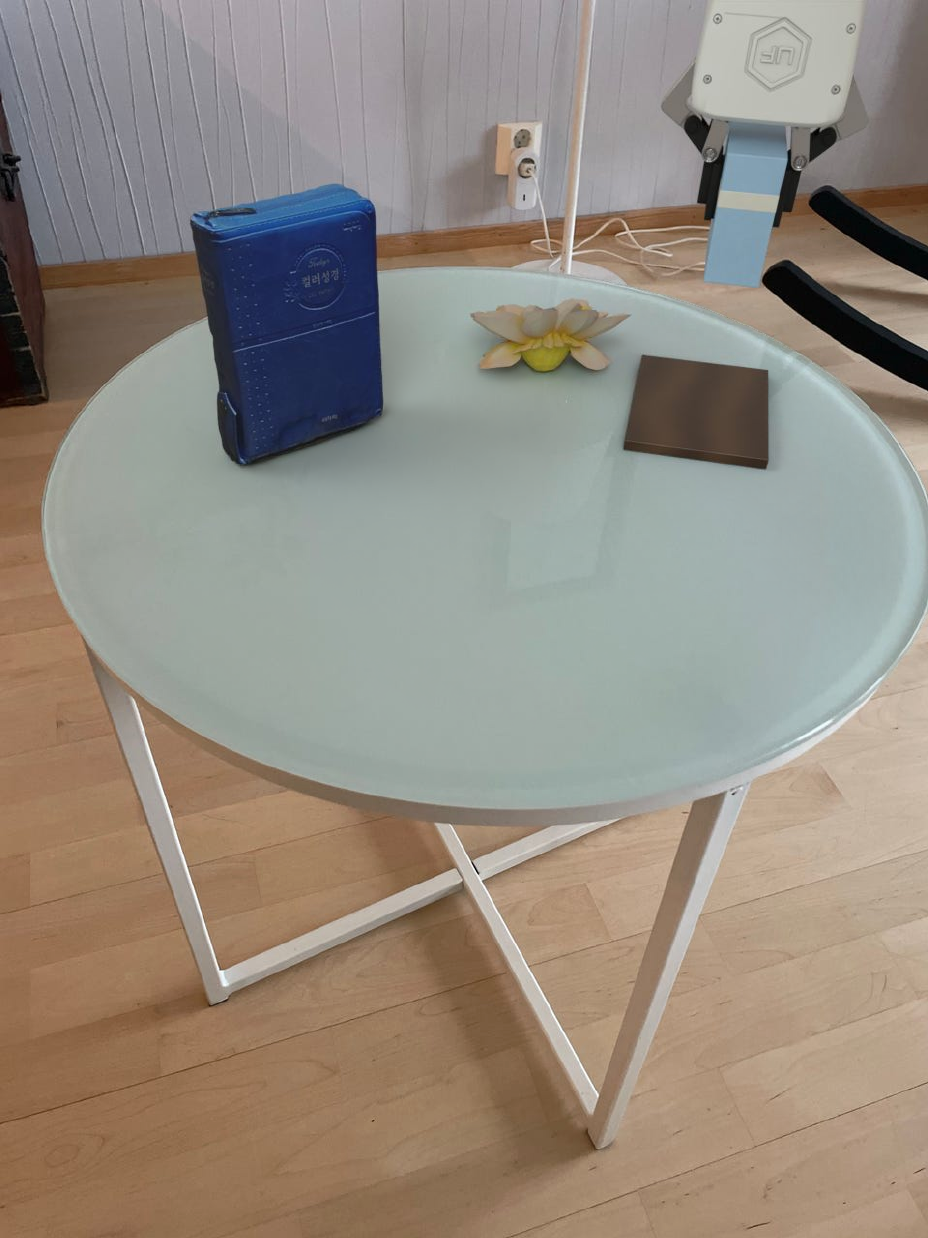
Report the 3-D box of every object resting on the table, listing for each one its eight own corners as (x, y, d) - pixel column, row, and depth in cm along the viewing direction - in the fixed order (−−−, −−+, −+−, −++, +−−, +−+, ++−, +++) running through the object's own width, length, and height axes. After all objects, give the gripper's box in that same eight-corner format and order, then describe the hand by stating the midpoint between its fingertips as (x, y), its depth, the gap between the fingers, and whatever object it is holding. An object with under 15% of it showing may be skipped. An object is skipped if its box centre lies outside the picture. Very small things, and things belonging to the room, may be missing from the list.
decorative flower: (618, 312, 101) (626, 224, 93) (632, 390, 95) (642, 303, 86) (470, 321, 101) (465, 234, 93) (474, 398, 95) (469, 313, 87)
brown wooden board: (766, 379, 95) (768, 369, 95) (766, 469, 84) (768, 459, 83) (640, 363, 97) (641, 353, 96) (623, 449, 85) (624, 439, 85)
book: (241, 478, 81) (203, 230, 68) (212, 448, 84) (171, 206, 71) (390, 426, 87) (382, 190, 74) (358, 400, 91) (345, 170, 77)
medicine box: (758, 246, 79) (786, 123, 73) (758, 288, 73) (788, 158, 67) (707, 241, 79) (729, 119, 73) (702, 282, 73) (727, 153, 67)
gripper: (662, -83, 60) (622, 224, 72) (954, -66, 57) (862, 248, 70) (670, -99, 65) (632, 189, 78) (937, -84, 63) (855, 210, 75)
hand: (741, 214), depth 74 cm, fingers closed on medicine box, 4 cm apart
